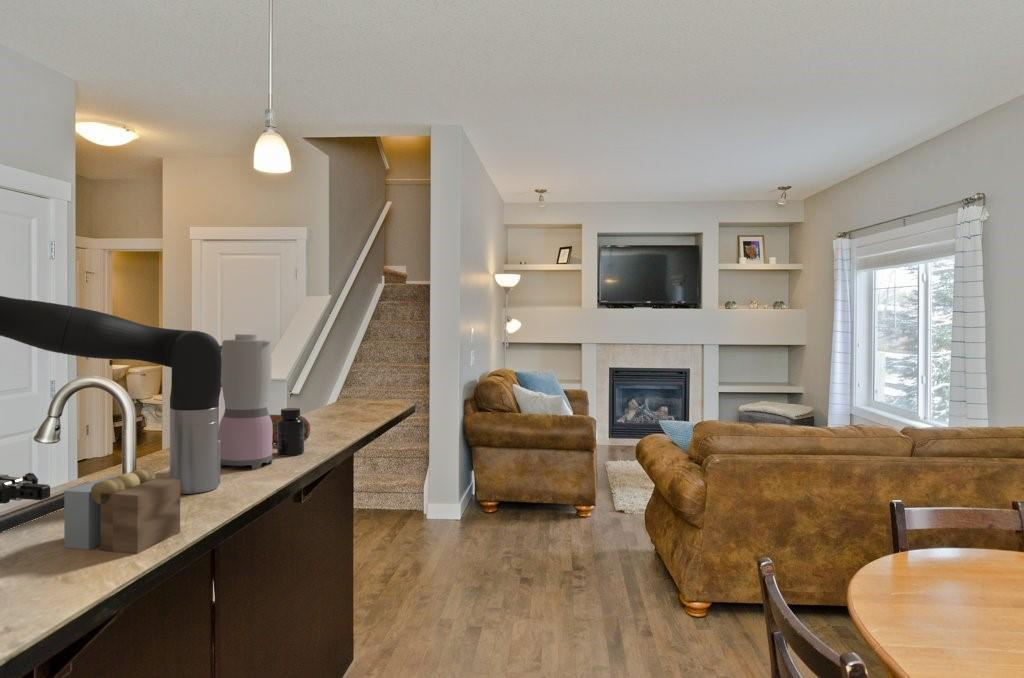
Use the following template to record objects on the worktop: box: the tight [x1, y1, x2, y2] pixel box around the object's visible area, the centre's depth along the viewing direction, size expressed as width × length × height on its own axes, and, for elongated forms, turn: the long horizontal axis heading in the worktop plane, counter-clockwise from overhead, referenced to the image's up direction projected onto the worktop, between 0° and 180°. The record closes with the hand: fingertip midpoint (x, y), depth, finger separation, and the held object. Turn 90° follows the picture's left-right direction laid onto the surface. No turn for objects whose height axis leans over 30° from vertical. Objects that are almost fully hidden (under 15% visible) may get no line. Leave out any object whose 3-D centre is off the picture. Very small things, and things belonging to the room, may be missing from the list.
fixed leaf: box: [91, 466, 181, 554], centre depth 103 cm, size 10×8×11 cm
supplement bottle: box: [276, 407, 305, 456], centre depth 169 cm, size 7×7×12 cm
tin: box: [269, 414, 311, 443], centre depth 182 cm, size 15×3×8 cm, turn 81°
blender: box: [219, 333, 274, 470], centre depth 155 cm, size 16×12×32 cm
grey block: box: [63, 472, 140, 550], centre depth 103 cm, size 10×8×11 cm
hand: (46, 492), depth 104 cm, fingers closed
